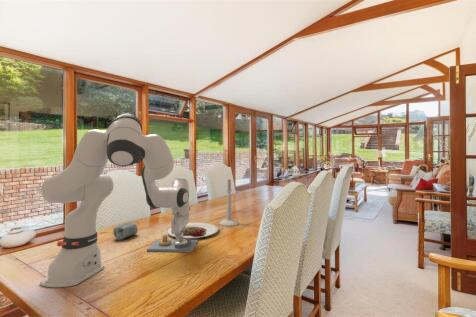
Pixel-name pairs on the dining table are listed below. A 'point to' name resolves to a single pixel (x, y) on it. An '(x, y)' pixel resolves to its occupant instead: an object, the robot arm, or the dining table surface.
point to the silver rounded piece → (181, 241)
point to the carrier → (172, 245)
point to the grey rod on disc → (229, 210)
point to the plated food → (197, 230)
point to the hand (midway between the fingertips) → (180, 237)
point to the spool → (125, 230)
